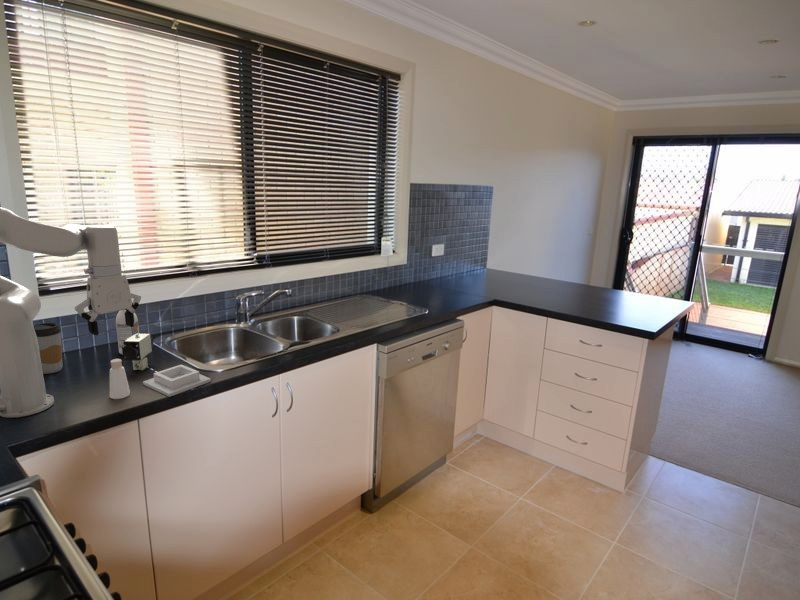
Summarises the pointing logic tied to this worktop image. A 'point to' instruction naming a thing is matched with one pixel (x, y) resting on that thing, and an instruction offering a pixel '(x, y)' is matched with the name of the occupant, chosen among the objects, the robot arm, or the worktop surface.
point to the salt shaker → (118, 380)
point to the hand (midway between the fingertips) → (112, 329)
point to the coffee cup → (49, 346)
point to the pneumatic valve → (138, 349)
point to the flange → (176, 380)
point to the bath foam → (125, 328)
